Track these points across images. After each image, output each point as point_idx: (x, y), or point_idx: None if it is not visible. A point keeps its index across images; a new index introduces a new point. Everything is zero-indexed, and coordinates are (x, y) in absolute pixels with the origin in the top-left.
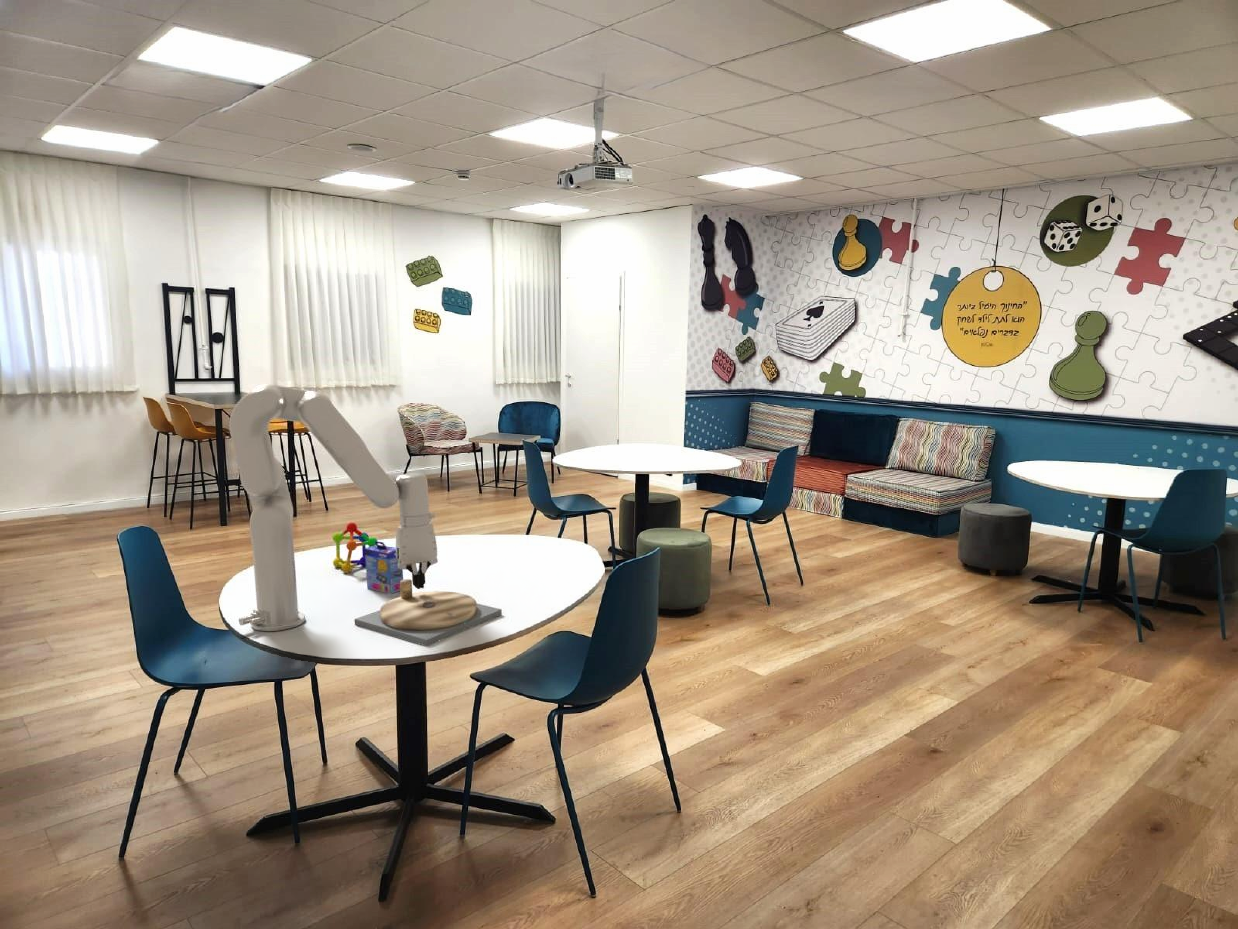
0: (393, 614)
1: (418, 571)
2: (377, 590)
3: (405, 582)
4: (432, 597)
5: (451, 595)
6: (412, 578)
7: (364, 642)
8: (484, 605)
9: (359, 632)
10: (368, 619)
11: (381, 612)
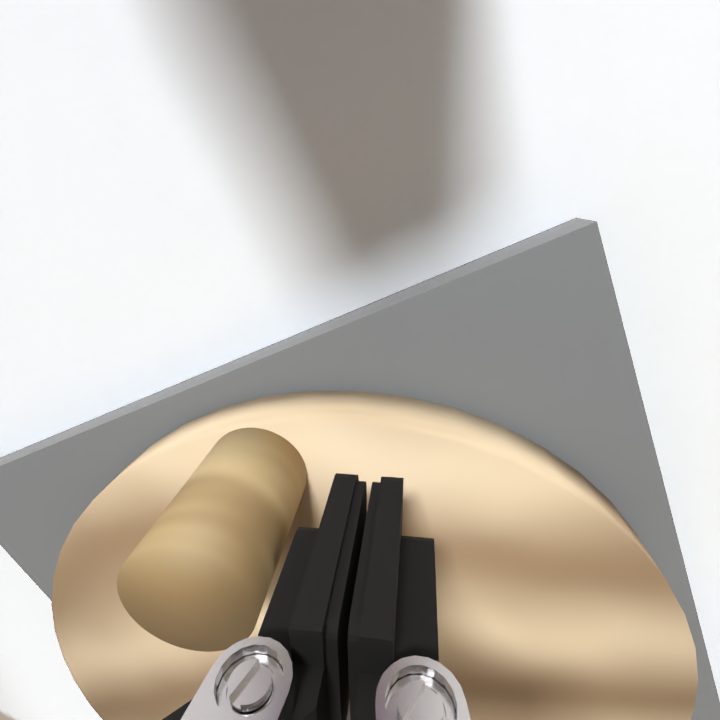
0: (125, 690)
1: (359, 689)
2: None
3: (174, 641)
4: (440, 587)
5: (591, 627)
6: (277, 591)
7: (45, 658)
8: (713, 698)
9: (16, 563)
10: (26, 534)
11: (60, 635)
